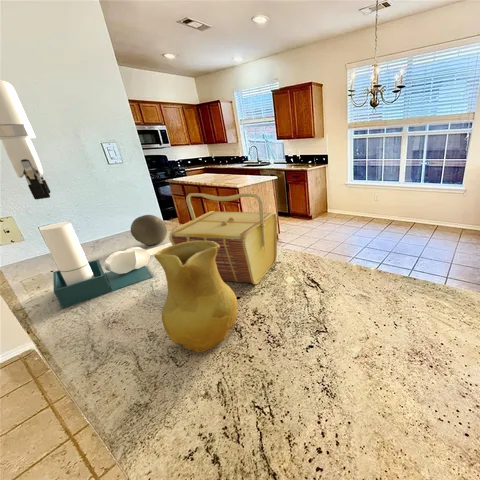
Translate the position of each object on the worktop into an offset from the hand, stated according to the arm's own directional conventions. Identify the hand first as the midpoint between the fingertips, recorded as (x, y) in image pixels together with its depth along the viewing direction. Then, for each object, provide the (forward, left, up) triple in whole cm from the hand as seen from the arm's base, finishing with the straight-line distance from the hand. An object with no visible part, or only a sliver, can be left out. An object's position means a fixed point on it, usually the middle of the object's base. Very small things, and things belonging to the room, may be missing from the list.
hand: (43, 196), depth 77 cm
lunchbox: (+6, +4, -34) cm, 35 cm away
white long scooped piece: (+25, +11, -34) cm, 44 cm away
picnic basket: (+42, -24, -34) cm, 60 cm away
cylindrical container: (-1, +1, -34) cm, 34 cm away
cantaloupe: (+27, +32, -34) cm, 54 cm away
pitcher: (+21, -50, -34) cm, 65 cm away
